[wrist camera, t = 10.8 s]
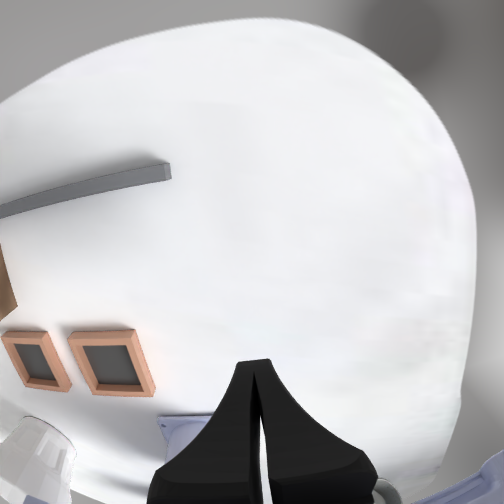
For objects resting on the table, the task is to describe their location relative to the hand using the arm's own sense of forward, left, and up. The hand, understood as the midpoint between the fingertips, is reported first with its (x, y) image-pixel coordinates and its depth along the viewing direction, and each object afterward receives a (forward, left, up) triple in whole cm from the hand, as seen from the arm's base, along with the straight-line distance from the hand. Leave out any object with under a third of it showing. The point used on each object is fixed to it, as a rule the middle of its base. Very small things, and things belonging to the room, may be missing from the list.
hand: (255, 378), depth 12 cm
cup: (-19, +28, -10) cm, 35 cm away
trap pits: (-5, +17, -9) cm, 20 cm away
